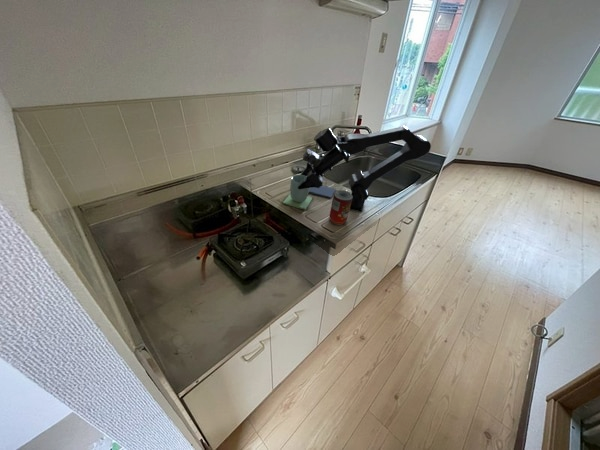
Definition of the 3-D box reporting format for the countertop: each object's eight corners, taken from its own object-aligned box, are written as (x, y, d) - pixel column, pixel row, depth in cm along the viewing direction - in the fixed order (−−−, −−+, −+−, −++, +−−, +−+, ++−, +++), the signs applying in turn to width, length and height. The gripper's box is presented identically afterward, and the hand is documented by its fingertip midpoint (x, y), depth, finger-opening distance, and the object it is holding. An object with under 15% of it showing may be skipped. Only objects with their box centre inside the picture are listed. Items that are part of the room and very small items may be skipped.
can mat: (335, 190, 115) (335, 188, 115) (330, 198, 108) (331, 197, 108) (313, 184, 117) (313, 183, 117) (308, 192, 111) (308, 191, 110)
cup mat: (312, 199, 106) (312, 197, 106) (305, 210, 99) (305, 208, 98) (291, 193, 108) (291, 191, 108) (282, 203, 101) (282, 202, 100)
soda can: (340, 228, 91) (347, 200, 84) (325, 220, 94) (330, 192, 87) (349, 220, 95) (356, 193, 88) (334, 213, 99) (340, 186, 91)
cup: (293, 205, 99) (295, 184, 93) (286, 196, 104) (288, 175, 98) (310, 203, 102) (313, 182, 96) (302, 194, 107) (305, 173, 101)
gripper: (316, 136, 96) (287, 159, 102) (317, 152, 81) (283, 179, 87) (332, 157, 101) (303, 178, 107) (336, 176, 86) (303, 199, 92)
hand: (298, 183), depth 98 cm, fingers open, 9 cm apart
